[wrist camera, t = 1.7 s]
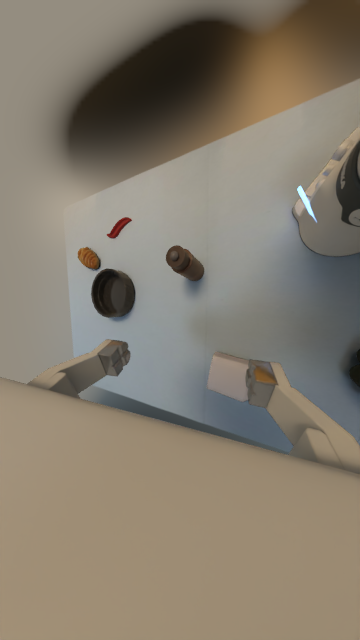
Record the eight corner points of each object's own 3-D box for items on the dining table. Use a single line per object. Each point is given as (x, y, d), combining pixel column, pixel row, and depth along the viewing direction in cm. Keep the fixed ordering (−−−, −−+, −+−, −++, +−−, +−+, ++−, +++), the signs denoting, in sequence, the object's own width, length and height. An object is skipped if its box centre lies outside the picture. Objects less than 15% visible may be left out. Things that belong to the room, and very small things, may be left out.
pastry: (103, 257, 55) (94, 254, 51) (97, 274, 57) (88, 271, 53) (89, 247, 58) (79, 243, 54) (84, 263, 60) (74, 260, 56)
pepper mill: (191, 259, 41) (167, 236, 28) (207, 266, 40) (189, 245, 27) (183, 276, 43) (157, 262, 30) (198, 283, 41) (177, 272, 28)
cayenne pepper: (107, 240, 54) (103, 238, 52) (106, 228, 53) (101, 225, 52) (133, 229, 49) (128, 226, 47) (131, 215, 49) (127, 212, 47)
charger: (269, 403, 36) (209, 381, 41) (279, 367, 34) (215, 350, 40) (273, 415, 31) (205, 389, 37) (284, 376, 30) (212, 355, 36)
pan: (109, 265, 54) (98, 261, 50) (141, 282, 49) (132, 280, 45) (98, 304, 58) (86, 304, 54) (126, 324, 53) (116, 325, 49)
